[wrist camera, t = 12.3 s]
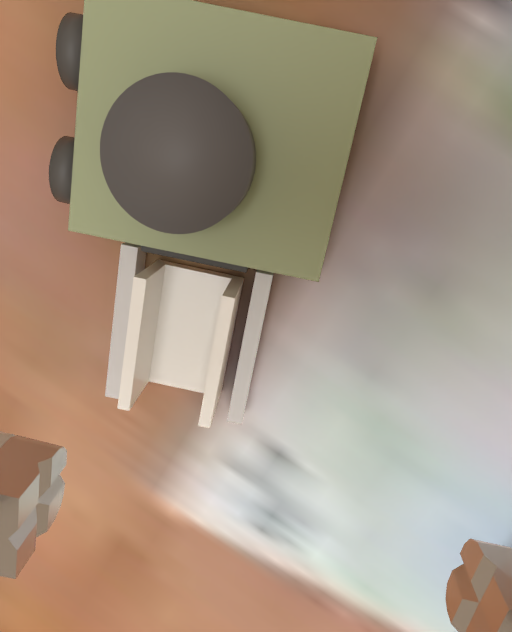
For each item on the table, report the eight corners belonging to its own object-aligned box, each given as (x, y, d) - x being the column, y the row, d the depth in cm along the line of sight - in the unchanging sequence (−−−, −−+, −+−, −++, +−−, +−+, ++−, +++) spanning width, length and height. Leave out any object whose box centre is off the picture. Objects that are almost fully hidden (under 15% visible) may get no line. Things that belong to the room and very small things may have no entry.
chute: (158, 259, 30) (133, 276, 26) (244, 277, 30) (235, 298, 25) (143, 373, 33) (117, 408, 28) (221, 389, 33) (209, 428, 28)
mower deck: (90, -2, 26) (27, -53, 20) (366, 53, 26) (389, 18, 20) (63, 371, 33) (10, 419, 27) (280, 417, 33) (277, 475, 27)
